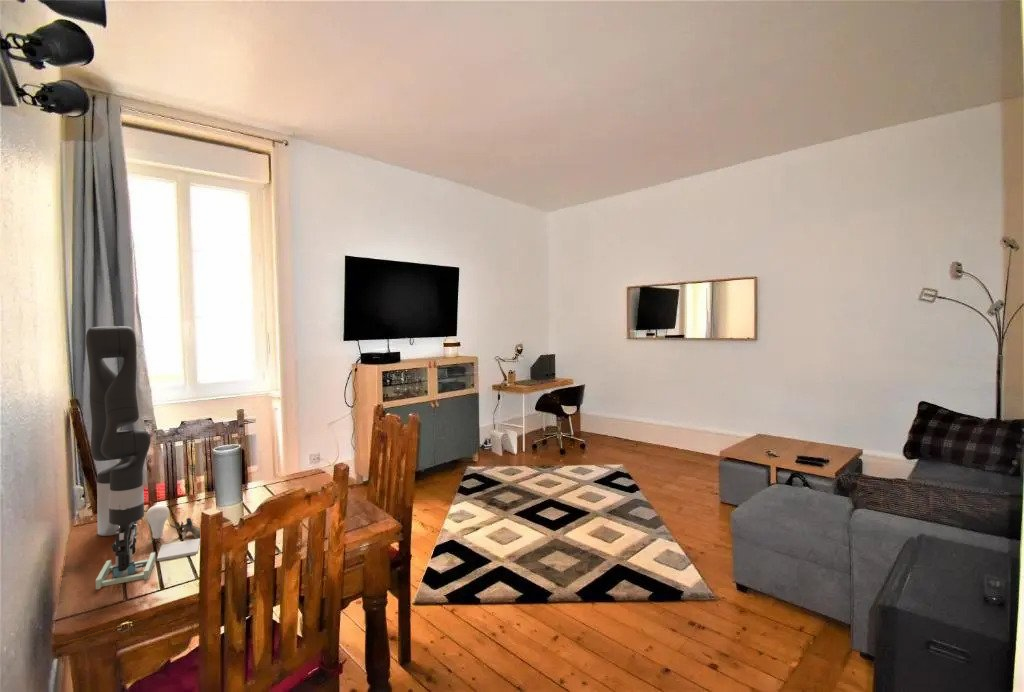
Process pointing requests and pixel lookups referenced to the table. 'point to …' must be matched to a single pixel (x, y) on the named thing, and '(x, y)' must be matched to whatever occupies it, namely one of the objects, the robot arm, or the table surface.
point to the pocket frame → (108, 568)
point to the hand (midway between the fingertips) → (127, 561)
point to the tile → (178, 549)
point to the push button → (131, 568)
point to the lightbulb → (157, 519)
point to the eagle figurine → (187, 528)
